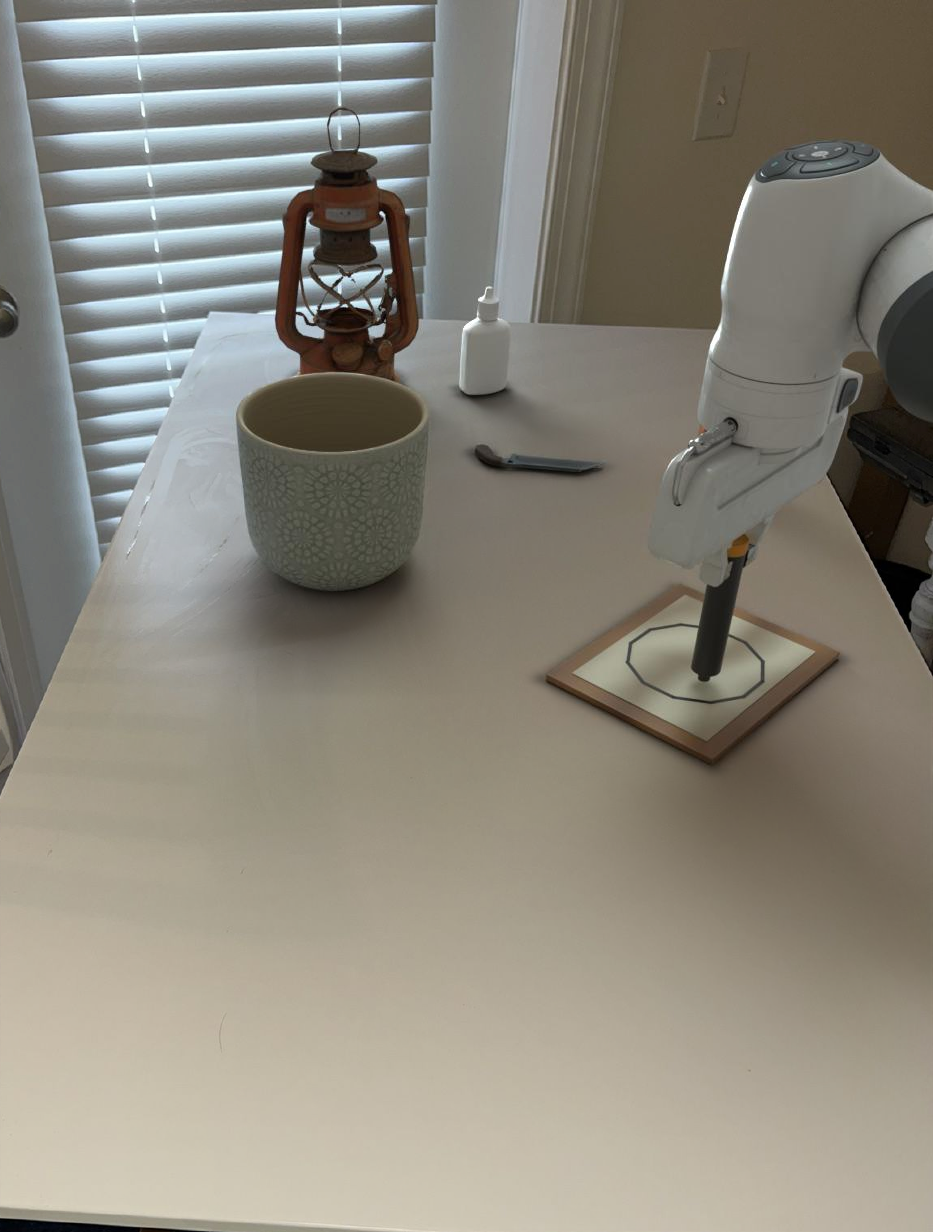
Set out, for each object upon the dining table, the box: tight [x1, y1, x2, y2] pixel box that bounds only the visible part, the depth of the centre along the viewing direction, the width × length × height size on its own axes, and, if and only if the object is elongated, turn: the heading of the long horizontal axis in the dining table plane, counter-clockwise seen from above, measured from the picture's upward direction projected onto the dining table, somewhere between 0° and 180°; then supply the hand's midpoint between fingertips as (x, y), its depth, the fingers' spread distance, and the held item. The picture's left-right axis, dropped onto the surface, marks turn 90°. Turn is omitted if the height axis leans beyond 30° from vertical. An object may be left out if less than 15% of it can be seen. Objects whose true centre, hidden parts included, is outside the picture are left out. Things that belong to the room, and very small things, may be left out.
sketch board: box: [545, 583, 841, 765], centre depth 105 cm, size 16×20×1 cm
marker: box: [691, 534, 749, 682], centre depth 98 cm, size 2×2×13 cm
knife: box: [474, 444, 605, 473], centre depth 134 cm, size 14×4×1 cm, turn 78°
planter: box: [235, 373, 430, 592], centre depth 114 cm, size 17×17×15 cm
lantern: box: [274, 106, 420, 384], centre depth 141 cm, size 17×13×30 cm
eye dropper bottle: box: [458, 286, 511, 396], centre depth 145 cm, size 4×6×12 cm
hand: (726, 571), depth 96 cm, fingers closed on marker, 2 cm apart
